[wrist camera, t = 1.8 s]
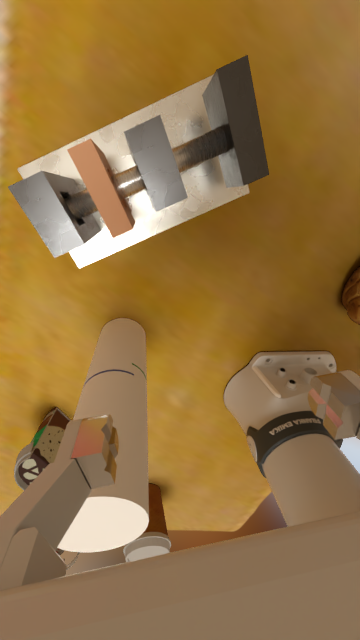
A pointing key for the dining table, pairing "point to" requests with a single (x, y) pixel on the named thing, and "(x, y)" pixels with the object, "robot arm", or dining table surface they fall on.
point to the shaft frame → (123, 153)
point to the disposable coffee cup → (151, 531)
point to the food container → (41, 448)
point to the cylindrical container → (131, 424)
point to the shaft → (209, 139)
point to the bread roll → (352, 296)
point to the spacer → (102, 187)
